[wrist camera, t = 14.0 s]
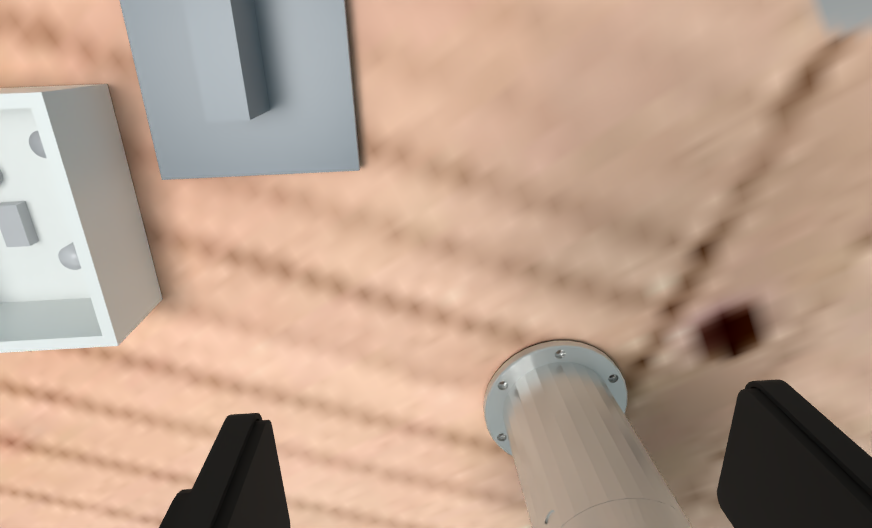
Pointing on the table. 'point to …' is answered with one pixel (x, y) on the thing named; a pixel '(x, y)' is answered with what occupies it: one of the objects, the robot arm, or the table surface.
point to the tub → (68, 223)
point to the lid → (245, 85)
